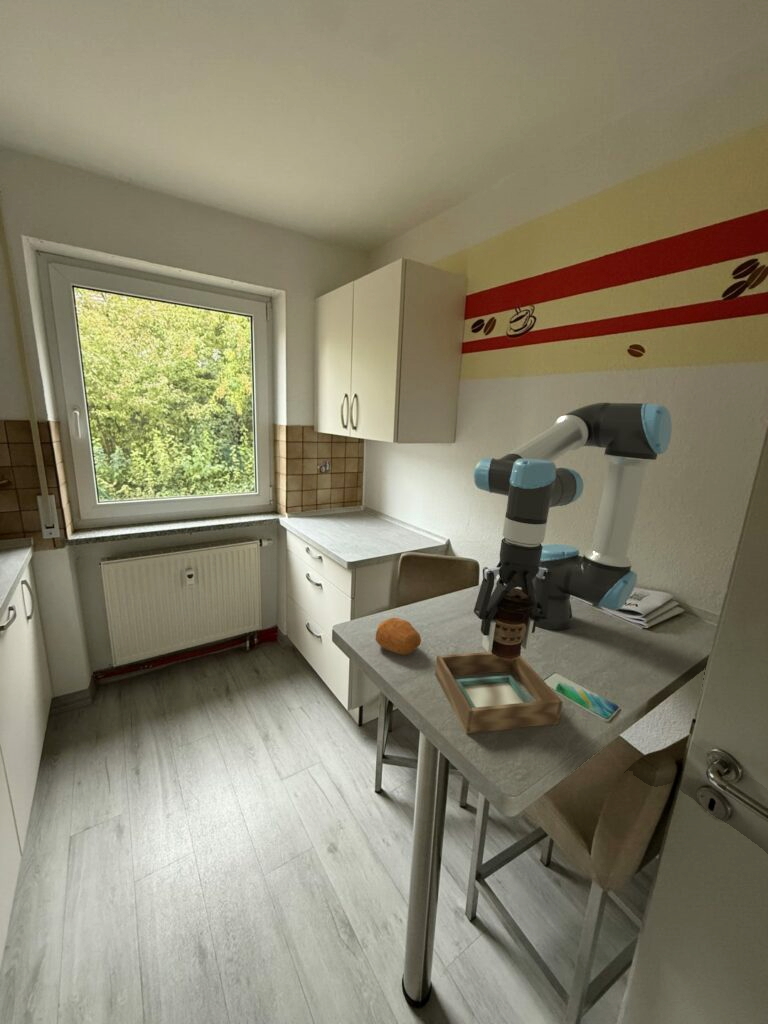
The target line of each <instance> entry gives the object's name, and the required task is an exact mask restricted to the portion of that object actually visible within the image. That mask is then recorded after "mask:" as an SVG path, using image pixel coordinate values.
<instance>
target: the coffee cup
mask: <svg viewBox="0 0 768 1024" xmlns="http://www.w3.org/2000/svg"><path fill="white" fill-rule="evenodd" d="M502 598H503V599H504V600H502V599H501V601H500V603H499V604H498V605H497V607H498V611H497V613H496V614H495V616H494V618H493V620H494V621H495V622H496V625H495V631H494V638H493V645H492V651H491V653H492V654H493V655H495V656H497V657H500V658H503V659H517V658H518V657H520V656H521V657H522V655H521V653H522V652H521V651H522V646H521V644H522V642H523V636H524V635H525V633H526V629H527V626H528V621H529V617H530V613H531V611H532V610H533V608H534V606H535V604H534V602H533V601H532V600H531V596H529V597H528V596H527V595H525V594H524V593H523V592H522V589H521V588H520V589H519V588H518V587H516V588H512V589H511V591H510V592H509V593H507V595H506V596H505V597H502Z"/></svg>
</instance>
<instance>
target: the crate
mask: <svg viewBox="0 0 768 1024" xmlns="http://www.w3.org/2000/svg"><path fill="white" fill-rule="evenodd" d="M434 670H435V673H434V676H435V678H436V680H437V681H438V683H439V685H440V687H441V689H442V691H443V692H444V695H445V696H446V699H447V700H448V702H449V704H450V707H451V708H452V710H453V712H454V713H455V716H456V717H457V720H458V722H459V723H460V726H461V727H462V729H463V730H464V733H465V734H466V735H467V734H475V733H485V732H493V731H501V730H511V729H517V728H521V729H522V728H528V727H529V728H530V727H536V726H545V725H547V726H548V725H553V724H559V722H560V719H561V718H560V717H561V712H562V707H563V703H564V702H563V701H562V699H561V698H560V697H559V695H558V694H556V693H554V692H553V691H552V690H551V688H550V687H549V686H548V685H547V684H546V683H545V682H544V681H543V680H544V679H543V678H542V677H541V676H540V675H539V674H538V673H537V671H536V670H534V669H533V668H532V667H531V665H530V664H529V663H528V662H527V661H526V659H525V658H523V656H522V655H521V656H520V657H518V658H517V659H503V658H500V657H497V656H495V655H493V654H492V653H491V652H487V651H486V652H470V653H469V652H468V653H458V654H457V653H456V654H454V653H453V654H443V655H442V654H441V655H439V654H438V655H437V656H436V663H435V669H434ZM499 672H512V674H513V675H514V676H515V677H516V678H517V680H519V683H521V684H522V686H523V687H524V688H525V689H526V690H527V692H528V693H529V694H530V696H532V698H533V699H534V700H535V701H532V700H531V698H529V696H528V694H526V692H525V691H524V689H522V687H521V686H520V685H519V684H518V682H517V681H516V680H515V679H514V677H513V676H512V675H511V674H508V675H506V674H504V675H495V676H494V675H493V676H483V677H470V678H458V679H455V678H454V676H463V675H475V674H487V673H499Z"/></svg>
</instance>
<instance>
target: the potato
mask: <svg viewBox="0 0 768 1024" xmlns="http://www.w3.org/2000/svg"><path fill="white" fill-rule="evenodd" d="M375 641H376V642H377V644H378V645H379V646H380V647H381V648H383V649H385V650H387V651H389V652H390V651H391V652H392V653H396V654H399V655H403V656H407V655H408V654H412V653H413V652H415V650H416V649H417V648H419V646H420V644H421V642H422V639H421V635H420V633H419V632H418V631H417V630H416V628H414V626H413V625H412V624H411V623H410V621H408V620H405V619H401V618H398V617H391V618H388V619H386V620H384V621H382V622H381V623H380V624H378V627H377V629H376V633H375Z"/></svg>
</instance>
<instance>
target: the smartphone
mask: <svg viewBox="0 0 768 1024" xmlns="http://www.w3.org/2000/svg"><path fill="white" fill-rule="evenodd" d="M542 680H543V681H544V682H545V683H546V684H547V685H548V686H549V687H550V688H551V690H552V691H553V692H554V693H555V694H556V695H557V696H560V697H562V698H563V699H565V700H567V701H569V702H570V703H571V704H573V705H575V706H577V707H579V708H581V710H584V711H586V712H587V713H589V714H591V715H593V716H595V717H596V718H597V719H599V720H601V721H603V722H605V721H606V722H607V723H609V721H611V719H612V718H613V717H614V716H615V715H616V714H617V713H618V712H619V711H620V705H618V704H616V703H614V702H612V701H610V700H608V699H607V698H604V697H603V696H601V695H599V694H597V693H595V692H593V691H592V690H590V689H588V688H586V687H584V686H582V685H580V684H579V683H576V682H575V681H573V680H571V679H569V678H567V677H565V676H563V675H561V674H560V673H558V672H553V673H551V674H550V675H548V676H547V677H546V678H544V679H542ZM618 710H619V711H618ZM617 711H618V712H617ZM616 712H617V713H616Z"/></svg>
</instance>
